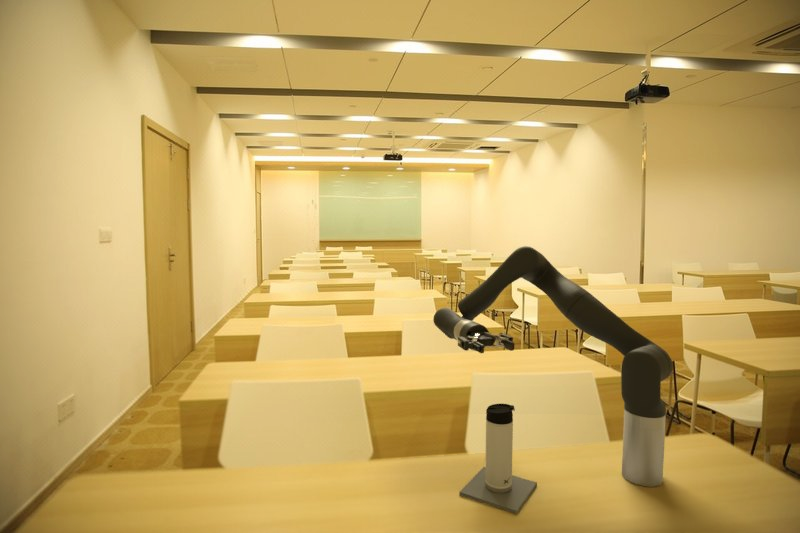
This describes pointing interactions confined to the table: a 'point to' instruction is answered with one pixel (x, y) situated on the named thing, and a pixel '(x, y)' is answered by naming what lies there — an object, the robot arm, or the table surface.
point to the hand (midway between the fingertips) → (498, 348)
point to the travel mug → (499, 447)
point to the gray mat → (504, 501)
